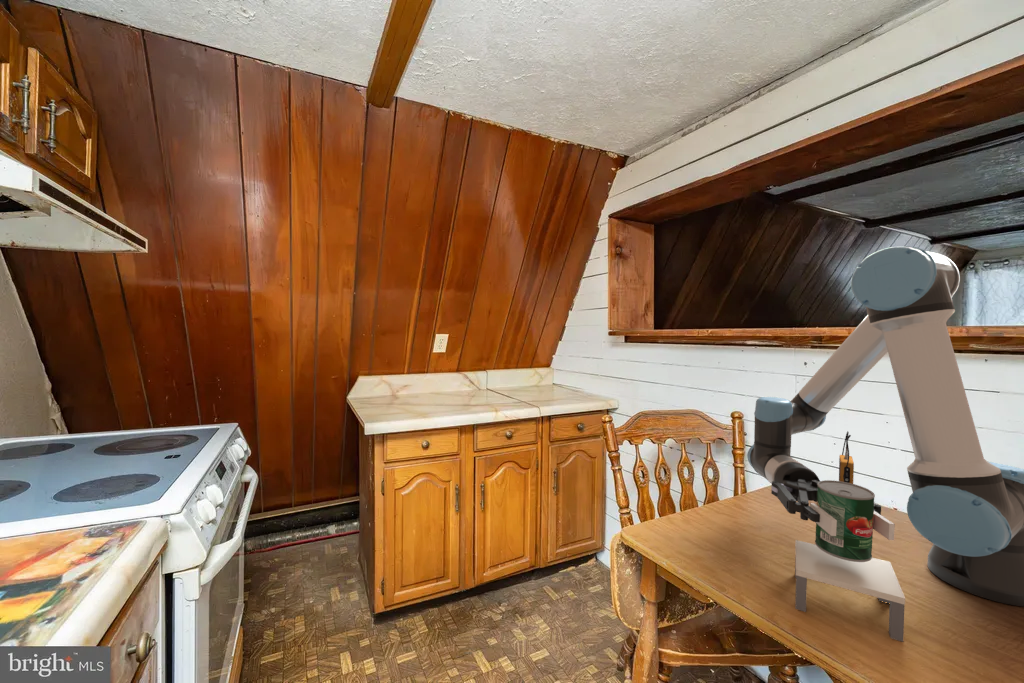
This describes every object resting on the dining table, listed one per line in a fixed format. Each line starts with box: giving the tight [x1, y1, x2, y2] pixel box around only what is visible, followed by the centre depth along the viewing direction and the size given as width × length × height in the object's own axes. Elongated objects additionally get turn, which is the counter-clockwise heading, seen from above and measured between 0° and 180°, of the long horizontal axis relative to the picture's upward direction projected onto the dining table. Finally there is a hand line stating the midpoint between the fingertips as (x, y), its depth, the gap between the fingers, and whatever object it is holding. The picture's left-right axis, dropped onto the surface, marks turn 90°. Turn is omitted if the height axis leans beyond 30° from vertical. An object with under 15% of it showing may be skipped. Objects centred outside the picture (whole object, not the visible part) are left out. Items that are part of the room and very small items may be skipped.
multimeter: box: [838, 430, 855, 484], centre depth 115 cm, size 15×10×20 cm
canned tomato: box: [814, 479, 876, 562], centre depth 74 cm, size 8×8×11 cm
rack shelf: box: [794, 539, 906, 643], centre depth 74 cm, size 14×12×7 cm
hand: (862, 529), depth 69 cm, fingers closed on canned tomato, 8 cm apart
